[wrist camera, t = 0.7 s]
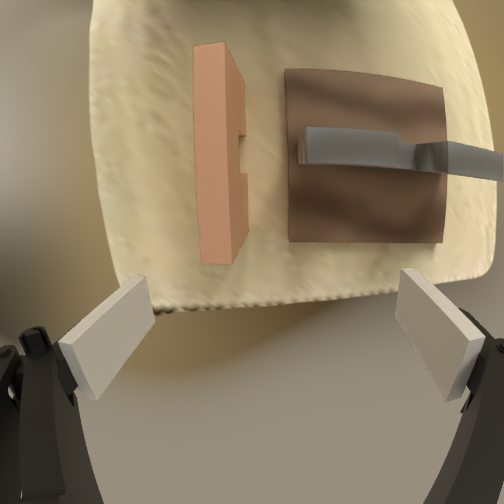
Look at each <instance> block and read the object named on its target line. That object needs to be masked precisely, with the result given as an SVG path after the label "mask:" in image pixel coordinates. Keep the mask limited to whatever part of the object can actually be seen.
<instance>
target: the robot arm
mask: <svg viewBox="0 0 504 504" xmlns="http://www.w3.org/2000/svg"><path fill="white" fill-rule="evenodd" d="M395 318H396V320H397V321H398V323H399V325H400V326H401V328H402V329H403V331H404V332H405V334H406V336H407V337H408V339H409V340H410V342H411V344H412V345H413V347H414V349H415V350H416V352H417V353H418V355H419V357H420V358H421V360H422V362H423V363H424V365H425V367H426V369H427V370H428V372H429V374H430V376H431V377H432V379H433V381H434V383H435V385H436V386H437V388H438V390H439V392H440V394H441V395H442V397H443V399H444V401H445V402H447V401H450V400H454V399H457V398H460V397H461V396H462V394H463V392H464V390H465V387H466V385H467V387H468V388H469V390H470V391H471V392H470V395H469V396H468V398H467V400H466V402H465V404H464V406H463V408H462V410H461V412H460V413H463V414H462V417H461V420H460V423H459V426H458V429H457V432H456V435H455V437H454V440H453V442H452V445H451V447H450V450H449V452H448V455H447V457H446V459H445V461H444V464H443V466H442V468H441V470H440V473H439V474H438V477H437V478H436V481H435V483H434V484H433V487H432V488H431V491H430V492H429V494H428V496H427V498H426V499H425V501H424V503H423V504H497V500H498V498H499V495H500V491H501V488H502V485H503V481H504V339H502V338H499V339H494V338H493V337H492V336H491V334H490V333H489V332H488V331H486V329H485V328H484V327H482V325H480V324H479V322H477V320H475V318H474V317H473V316H472V315H471V314H470V313H468V312H466V311H465V310H463V309H461V308H457V307H456V306H455V305H454V304H453V303H452V302H451V301H450V300H449V299H448V298H447V297H446V296H444V295H443V294H442V293H441V292H440V291H439V290H438V289H437V288H436V287H435V286H434V285H433V284H432V283H430V282H429V281H428V280H427V279H426V278H425V277H424V276H423V275H422V274H420V273H419V272H418V271H417V270H416V269H415V268H403V269H401V274H400V283H399V291H398V298H397V305H396V311H395ZM154 323H155V318H154V314H153V310H152V305H151V301H150V296H149V291H148V287H147V282H146V277H132V278H131V279H130V280H129V281H127V282H126V283H125V284H124V285H123V286H121V287H120V288H119V289H118V290H117V291H115V292H114V293H113V294H112V295H111V296H109V297H108V298H107V299H106V300H105V301H103V302H102V303H101V304H100V305H99V306H98V307H96V308H95V309H94V310H93V311H92V312H91V313H89V314H88V315H87V316H86V317H85V318H84V319H83V320H81V321H79V322H78V323H77V324H76V325H74V327H73V328H71V329H70V330H69V331H68V333H65V334H64V335H63V336H62V337H61V338H60V339H59V340H58V341H57V342H55V343H54V344H53V345H51V342H50V340H49V337H48V335H47V332H46V330H45V328H44V327H40V326H37V327H32V328H29V329H27V330H25V331H24V332H23V333H22V334H20V336H19V340H20V342H21V345H22V347H23V349H24V351H25V354H26V355H25V356H23V355H19V353H18V351H17V349H16V347H15V346H14V345H8V346H6V345H5V346H3V347H1V348H0V504H104V503H103V500H102V497H101V494H100V491H99V489H98V485H97V482H96V479H95V476H94V473H93V469H92V466H91V462H90V458H89V455H88V451H87V447H86V443H85V438H84V434H83V429H82V425H81V419H80V414H79V409H78V402H77V397H76V395H75V393H74V390H75V389H76V388H77V386H78V388H79V389H80V391H81V393H82V395H83V397H86V398H89V399H93V400H96V401H97V400H98V399H99V398H100V396H101V395H102V393H103V392H104V391H105V389H106V388H107V386H108V385H109V384H110V382H111V381H112V379H113V378H114V377H115V375H116V374H117V373H118V371H119V370H120V369H121V367H122V366H123V364H124V363H125V362H126V360H127V359H128V358H129V356H130V355H131V354H132V352H133V351H134V350H135V348H136V347H137V346H138V344H139V343H140V342H141V340H142V339H143V338H144V336H145V335H146V334H147V332H148V331H149V330H150V328H151V327H152V326H153V325H154ZM8 387H9V388H10V389H11V391H12V393H13V395H14V396H13V398H11V397H10V396H9V394H8ZM21 489H22V498H20V497H21Z"/></svg>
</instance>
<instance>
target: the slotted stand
mask: <svg viewBox="0 0 504 504" xmlns="http://www.w3.org/2000/svg"><path fill="white" fill-rule="evenodd" d="M285 87H286V108H287V135H288V172H289V242H385V243H442V242H443V233H444V224H445V212H446V198H447V174H451V175H459V176H467V177H474V178H481V179H488V180H494V181H500V182H503V154H502V153H498V152H494V151H491V150H487V149H483V148H478V147H474V146H470V145H465V144H460V143H456V142H451V141H447V130H446V115H445V105H444V96H443V88H441V87H438V86H434V85H429V84H425V83H420V82H416V81H411V80H406V79H400V78H395V77H389V76H382V75H375V74H367V73H359V72H349V71H337V70H321V69H285Z"/></svg>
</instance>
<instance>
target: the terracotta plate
mask: <svg viewBox="0 0 504 504" xmlns="http://www.w3.org/2000/svg"><path fill="white" fill-rule="evenodd" d="M193 107H194V148H195V173H196V192H197V209H198V224H199V237H200V250H201V262H202V264H232V263H233V261H234V259H235V257H236V255H237V253H238V251H239V249H240V247H241V245H242V243H243V241H244V239H245V237H246V236H247V234H248V232H249V219H248V189H247V174H239V144H238V136H246V127H245V95H244V80H243V78H242V76H241V74H240V72H239V70H238V68H237V66H236V64H235V62H234V60H233V58H232V56H231V54H230V52H229V50H228V48H227V46H226V44H225V42H219V43H211V44H204V45H197V46H194V58H193Z"/></svg>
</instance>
